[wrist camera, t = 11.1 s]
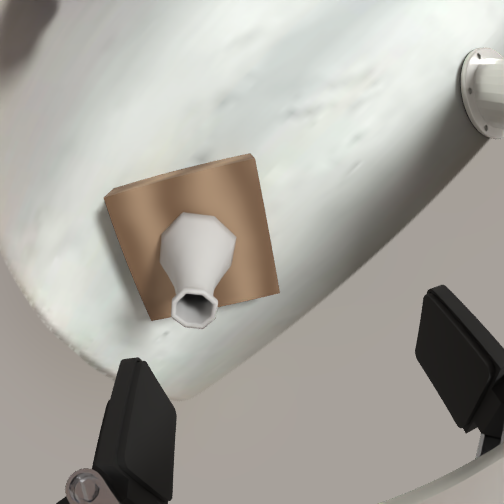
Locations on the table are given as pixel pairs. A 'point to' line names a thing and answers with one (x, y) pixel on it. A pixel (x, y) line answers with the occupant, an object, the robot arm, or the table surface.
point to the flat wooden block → (205, 203)
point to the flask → (196, 265)
